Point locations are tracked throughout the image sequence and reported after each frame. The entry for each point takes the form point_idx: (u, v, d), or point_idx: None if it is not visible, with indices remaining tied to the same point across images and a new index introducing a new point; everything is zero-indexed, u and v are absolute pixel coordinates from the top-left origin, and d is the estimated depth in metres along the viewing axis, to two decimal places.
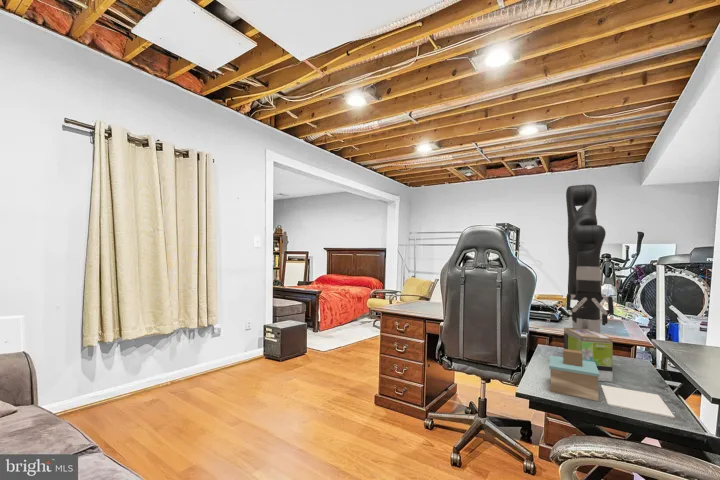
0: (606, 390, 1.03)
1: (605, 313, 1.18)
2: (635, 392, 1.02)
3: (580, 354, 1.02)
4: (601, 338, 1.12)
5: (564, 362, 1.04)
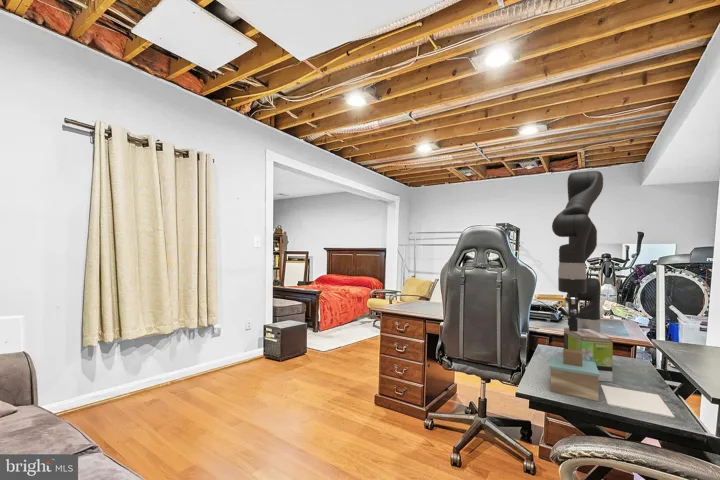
0: (606, 390, 1.03)
1: (576, 313, 1.09)
2: (635, 392, 1.02)
3: (580, 354, 1.02)
4: (601, 338, 1.12)
5: (564, 362, 1.04)
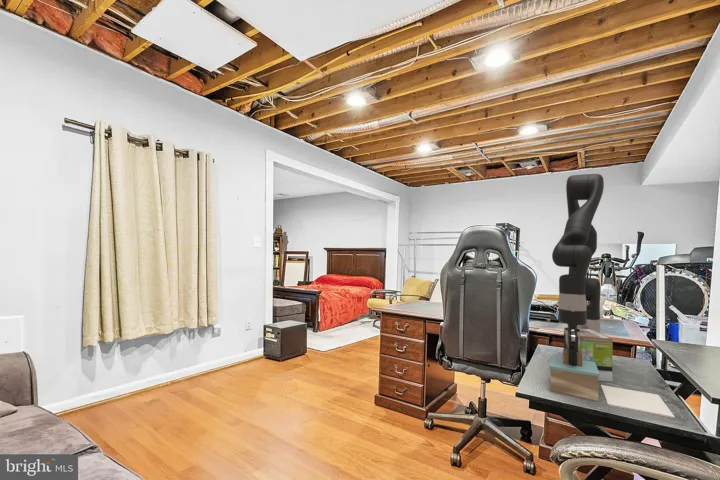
0: (606, 390, 1.03)
1: None
2: (635, 392, 1.02)
3: (580, 354, 1.02)
4: (601, 338, 1.12)
5: (564, 362, 1.04)
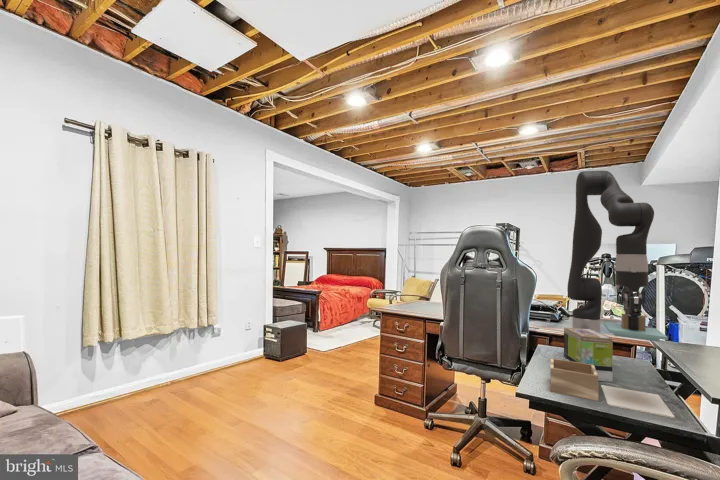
0: (606, 390, 1.03)
1: None
2: (635, 392, 1.02)
3: (643, 318, 0.95)
4: (601, 338, 1.12)
5: (624, 327, 0.97)
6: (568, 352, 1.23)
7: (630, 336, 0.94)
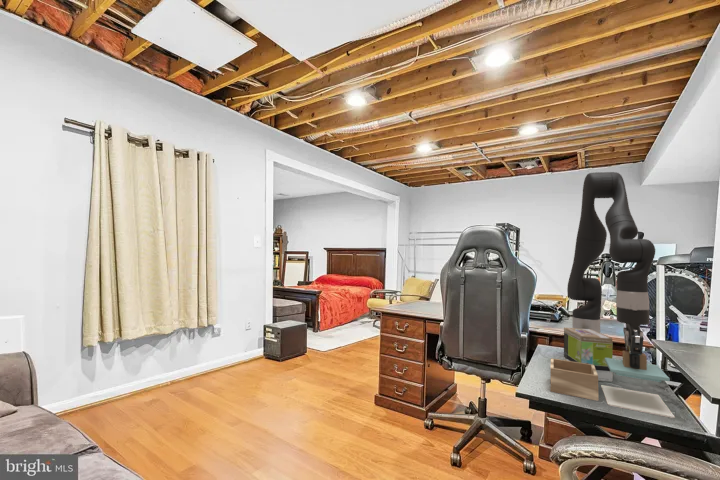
0: (606, 390, 1.03)
1: None
2: (635, 392, 1.02)
3: (644, 356, 0.95)
4: (601, 338, 1.12)
5: (625, 365, 0.97)
6: (568, 352, 1.23)
7: (632, 376, 0.93)
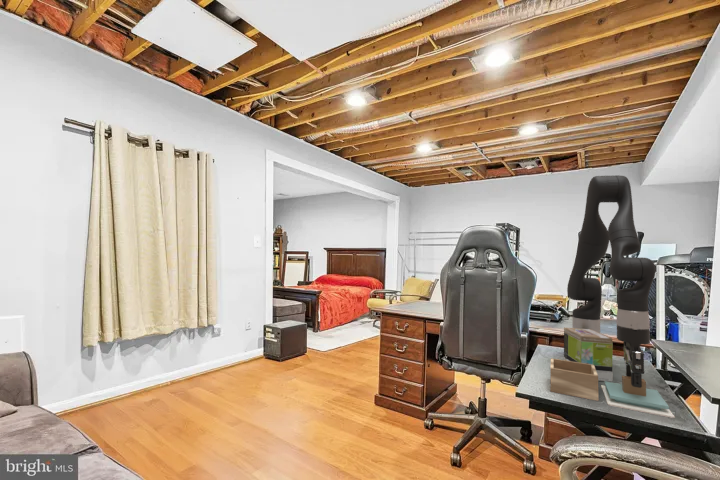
0: (606, 390, 1.03)
1: None
2: None
3: (643, 383, 0.95)
4: (601, 338, 1.12)
5: (625, 391, 0.97)
6: (568, 352, 1.23)
7: (631, 402, 0.93)
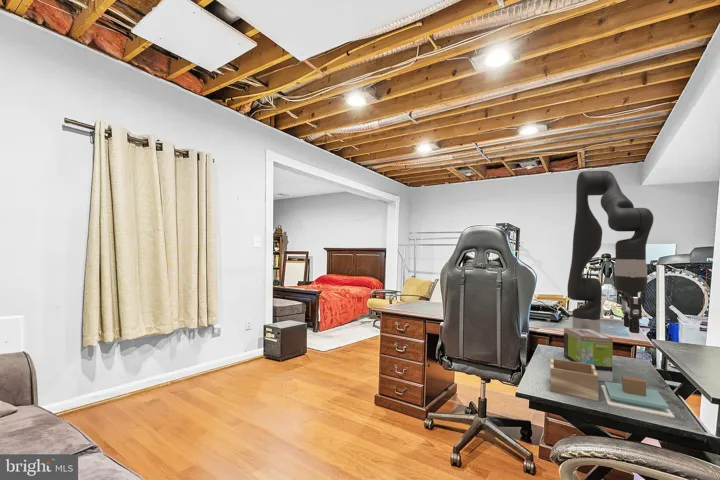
0: (606, 390, 1.03)
1: None
2: None
3: (643, 383, 0.95)
4: (601, 338, 1.12)
5: (625, 391, 0.97)
6: (568, 352, 1.23)
7: (631, 402, 0.93)
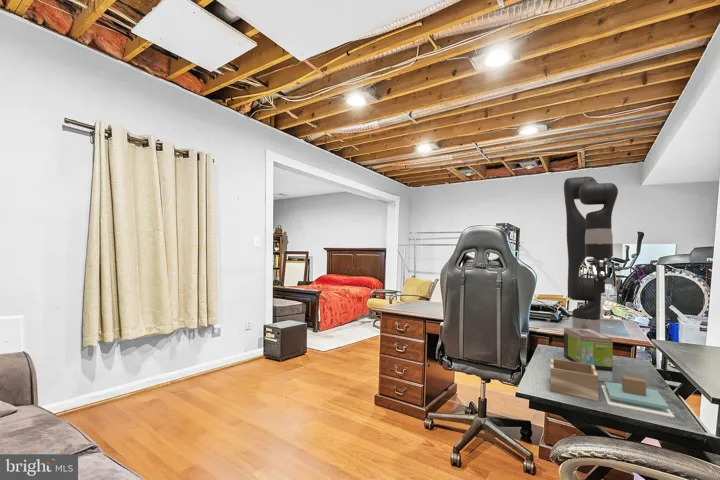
0: (606, 390, 1.03)
1: None
2: None
3: (643, 383, 0.95)
4: (601, 338, 1.12)
5: (625, 391, 0.97)
6: (568, 352, 1.23)
7: (631, 402, 0.93)
